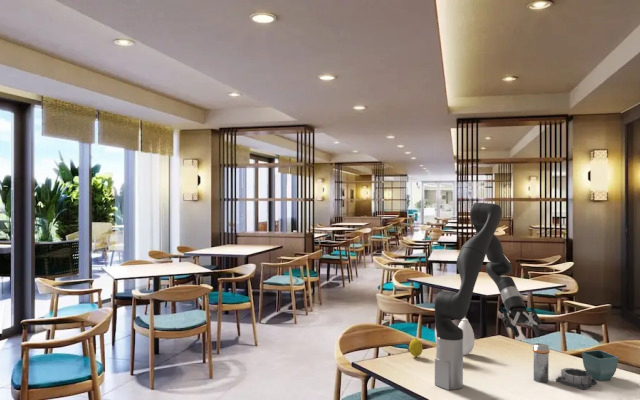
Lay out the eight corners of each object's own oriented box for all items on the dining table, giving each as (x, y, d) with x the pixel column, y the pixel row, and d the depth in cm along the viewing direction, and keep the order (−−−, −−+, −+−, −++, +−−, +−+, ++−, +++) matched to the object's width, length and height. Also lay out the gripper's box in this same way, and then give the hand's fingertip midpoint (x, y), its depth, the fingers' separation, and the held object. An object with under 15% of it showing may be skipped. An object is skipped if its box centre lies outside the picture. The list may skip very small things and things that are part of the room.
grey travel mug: (544, 384, 176) (544, 348, 176) (529, 379, 180) (529, 344, 180) (552, 381, 179) (552, 345, 179) (537, 376, 184) (537, 342, 184)
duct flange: (584, 390, 170) (584, 379, 170) (555, 381, 178) (555, 371, 178) (596, 383, 177) (596, 373, 177) (568, 375, 185) (568, 366, 185)
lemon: (413, 354, 209) (413, 335, 209) (424, 357, 206) (424, 338, 206) (406, 357, 205) (406, 338, 205) (418, 360, 201) (418, 341, 201)
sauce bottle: (477, 354, 209) (477, 313, 209) (467, 358, 204) (467, 315, 204) (461, 350, 215) (462, 309, 215) (451, 354, 210) (451, 312, 210)
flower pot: (599, 383, 177) (599, 358, 177) (580, 375, 186) (580, 351, 186) (618, 381, 180) (619, 357, 180) (599, 373, 188) (599, 349, 188)
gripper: (499, 295, 196) (514, 331, 185) (532, 294, 198) (549, 330, 186) (493, 305, 201) (507, 341, 190) (525, 305, 203) (541, 340, 192)
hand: (528, 335), depth 188 cm, fingers open, 8 cm apart
